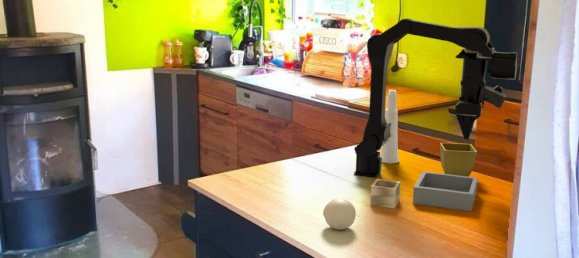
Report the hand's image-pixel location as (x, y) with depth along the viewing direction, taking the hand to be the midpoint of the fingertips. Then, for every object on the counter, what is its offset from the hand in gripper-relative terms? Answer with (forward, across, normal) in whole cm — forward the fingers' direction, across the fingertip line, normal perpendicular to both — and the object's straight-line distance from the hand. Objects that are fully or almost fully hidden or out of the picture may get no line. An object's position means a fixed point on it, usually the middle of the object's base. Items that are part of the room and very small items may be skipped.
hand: (468, 135), depth 160 cm
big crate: (+14, -12, +3) cm, 19 cm away
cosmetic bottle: (+15, +17, +24) cm, 32 cm away
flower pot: (+14, +8, +3) cm, 17 cm away
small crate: (+14, -20, +17) cm, 30 cm away
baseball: (+15, -40, +23) cm, 49 cm away
